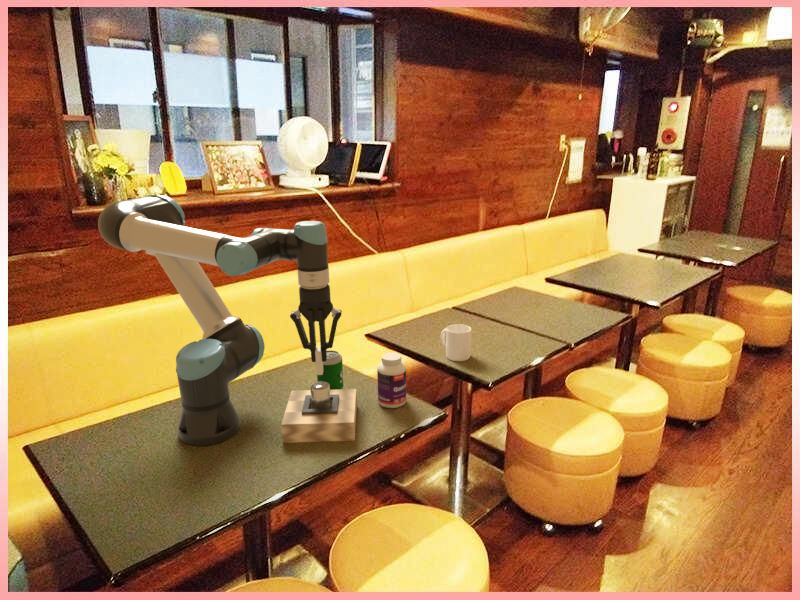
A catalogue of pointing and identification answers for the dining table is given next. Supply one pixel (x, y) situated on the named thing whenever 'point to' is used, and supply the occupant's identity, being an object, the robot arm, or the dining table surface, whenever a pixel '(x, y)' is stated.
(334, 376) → the soda can
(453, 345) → the mug
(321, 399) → the peg
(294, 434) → the block
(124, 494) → the dining table surface
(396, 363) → the pill bottle
